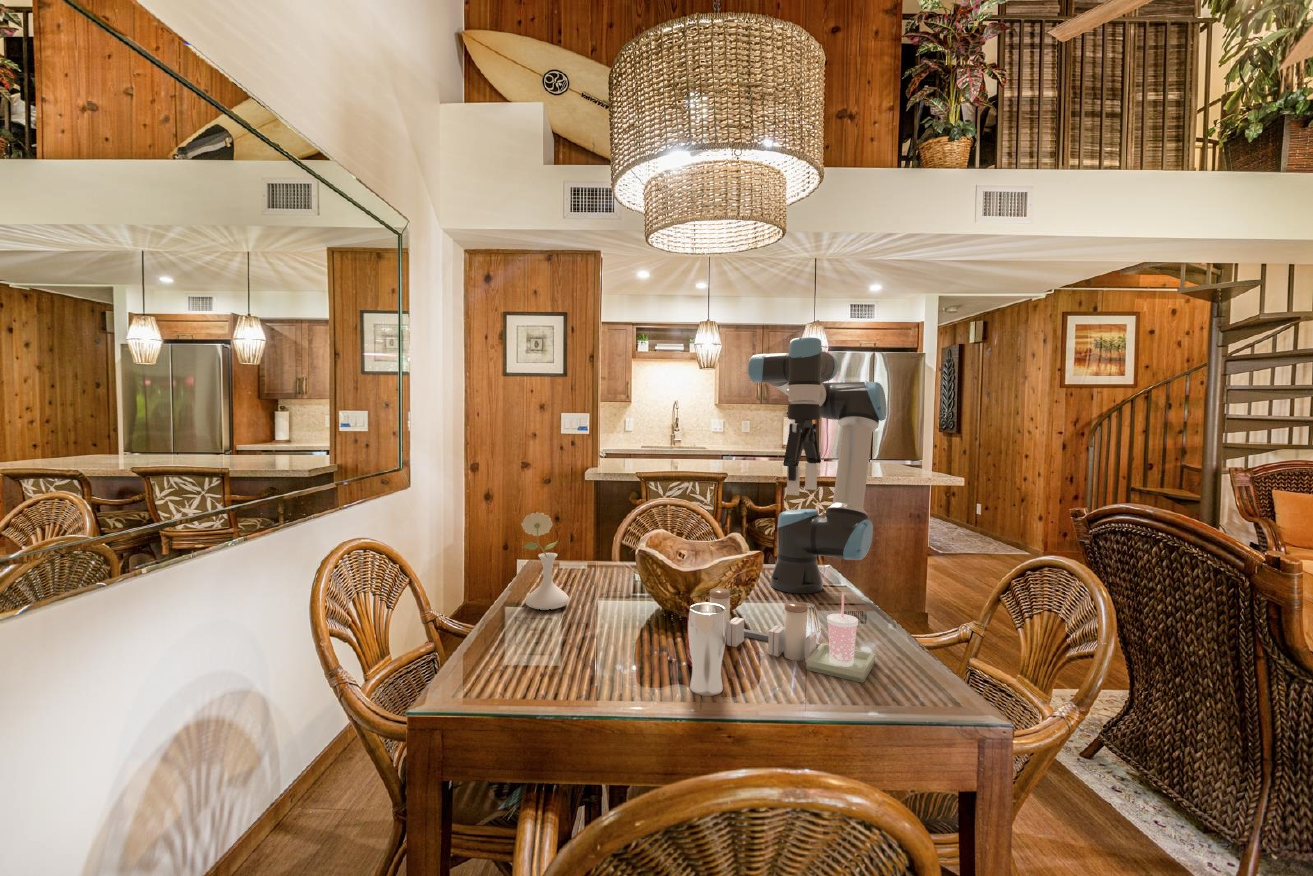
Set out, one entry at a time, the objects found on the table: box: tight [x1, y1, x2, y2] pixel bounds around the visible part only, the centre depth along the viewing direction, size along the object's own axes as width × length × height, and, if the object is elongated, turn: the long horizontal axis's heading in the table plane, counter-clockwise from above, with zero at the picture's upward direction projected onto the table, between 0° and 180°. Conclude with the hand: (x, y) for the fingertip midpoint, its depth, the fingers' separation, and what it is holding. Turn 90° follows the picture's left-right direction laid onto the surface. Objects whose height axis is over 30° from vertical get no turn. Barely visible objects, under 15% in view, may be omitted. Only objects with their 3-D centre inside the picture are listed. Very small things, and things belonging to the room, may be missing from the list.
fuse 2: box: [783, 600, 808, 661], centre depth 126 cm, size 5×5×11 cm
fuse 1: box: [709, 587, 731, 644], centre depth 135 cm, size 5×5×11 cm
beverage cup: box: [826, 593, 859, 667], centre depth 121 cm, size 6×6×14 cm
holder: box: [726, 617, 821, 664], centre depth 133 cm, size 8×26×5 cm, turn 59°
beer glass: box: [688, 602, 727, 697], centre depth 110 cm, size 7×7×15 cm
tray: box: [805, 642, 876, 684], centre depth 121 cm, size 11×11×2 cm
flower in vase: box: [520, 511, 570, 611], centre depth 157 cm, size 13×11×25 cm
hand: (802, 492), depth 143 cm, fingers open, 13 cm apart
